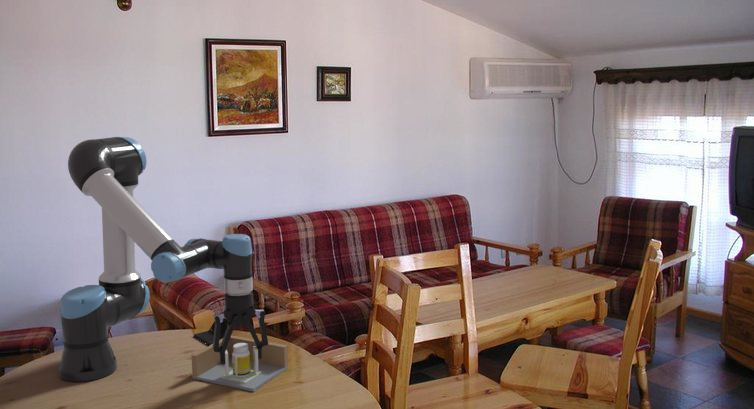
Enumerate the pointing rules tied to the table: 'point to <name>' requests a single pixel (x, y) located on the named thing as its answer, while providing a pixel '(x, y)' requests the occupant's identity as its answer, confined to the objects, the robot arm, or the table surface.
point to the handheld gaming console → (212, 333)
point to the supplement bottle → (241, 360)
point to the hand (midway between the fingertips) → (241, 372)
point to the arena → (213, 371)
